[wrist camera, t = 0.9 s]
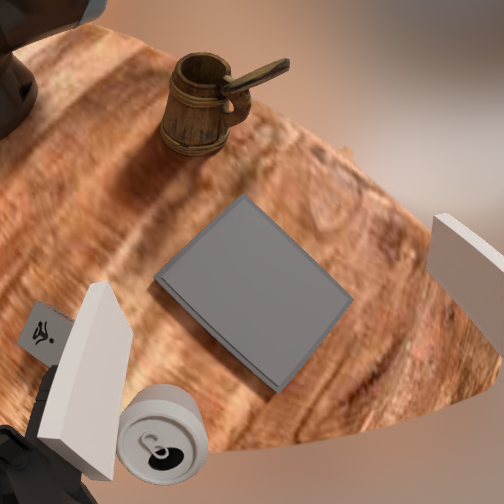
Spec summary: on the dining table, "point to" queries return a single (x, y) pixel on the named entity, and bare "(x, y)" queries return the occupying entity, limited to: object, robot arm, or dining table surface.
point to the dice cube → (46, 333)
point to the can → (162, 436)
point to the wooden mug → (208, 102)
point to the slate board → (255, 292)
